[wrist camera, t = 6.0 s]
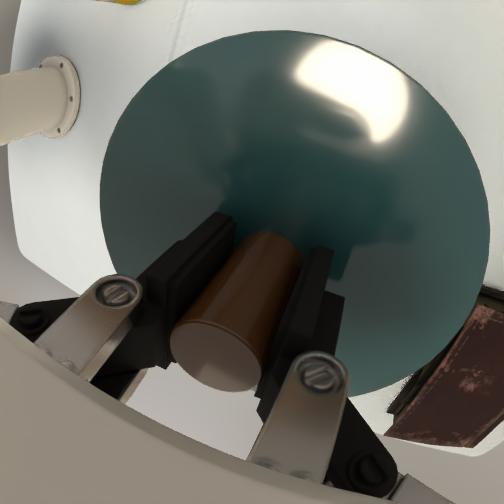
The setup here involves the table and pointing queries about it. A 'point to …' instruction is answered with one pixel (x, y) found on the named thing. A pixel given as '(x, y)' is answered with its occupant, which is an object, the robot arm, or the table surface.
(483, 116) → the table surface
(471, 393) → the diary
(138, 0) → the supplement bottle
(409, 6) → the table surface
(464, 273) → the lid
